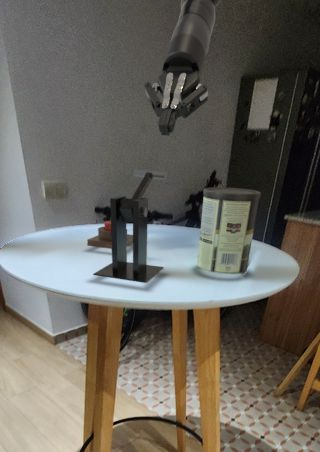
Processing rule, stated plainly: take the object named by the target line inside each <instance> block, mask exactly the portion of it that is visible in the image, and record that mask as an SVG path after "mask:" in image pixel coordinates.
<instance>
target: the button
mask: <svg viewBox="0 0 320 452" xmlns="http://www.w3.org/2000/svg"><path fill="white" fill-rule="evenodd" d="M104 226H105V230H108V231H111V220H106V221H104Z"/></svg>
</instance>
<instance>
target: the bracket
mask: <svg viewBox="0 0 320 452" xmlns="http://www.w3.org/2000/svg"><path fill="white" fill-rule="evenodd" d="M125 198H127V196H126V195H118V196H113V197H110V198H109V199H110V200H109V202H110V203H109V204H110V205H109V206H110V221H111V239H112V249H111V263H109V264H107V265H106V266H104V267H102V268H101V269H99V270H96V272H94V273H92V275H93V276H97V277H98V276H99V277H103V278H110V279H116V280H123V281H130V282H137V283H141V284H142V283H143V284H147V283H148V282H149V281H150V280H151V279H152V278H154V277H155V276H157V274H159V273H160V272H161V271H162V270H163V269H164V266H158V265H152V264H148V263H147V262H148V261H147V260H148V218H149V217H148V216H149V215H148V213H149V211H148V210H149V198H148V197H142V198H140V199H137V200H133V223H132V235H133V243H132V262H131V261H128V257H127V256H128V255H127V254H128V253H127V251H128V250H127V247H128V246H127V238H126V229H127V222H123V221H122V219H121V214H120V209H119V208H120V206H121V204H122V203H123V201H124V199H125Z"/></svg>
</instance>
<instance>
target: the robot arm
mask: <svg viewBox="0 0 320 452" xmlns="http://www.w3.org/2000/svg"><path fill="white" fill-rule="evenodd" d="M221 2H222V0H180V13H179V17H178V20H177V22H176V26H175V27H174V30H173V31H172V35H171V38H170V41H169V45H168V48H167V52H166V54H165V57H164V61H163V65H162V70H161V73H160V74H159V75H158V77H157V78H156V79H157V80H156V82H154V83H153V84H152V83H151V82H149V81H146V82H145V83H144V89H145V95H146V98H147V101H148V103H149V104H150V106H151V109H152V110H153V112H154V113H155V115H156V117H157V118H158V121H157V124H158V125H157V126H158V130H159V133H160V134H161V136H167V137H169V136H171V133H173V132H174V131H175V127H176V123H177V121H178V120H179V118H181V117H182V118H183V119H187V118H188V117H189V116H191V115H192V114H193V113H194V112H195V111H197V110H198V109H199V108H200V107H202V106H203V105H204V104H206V102H208V100H209V89H208V84H207V83H201V79H202V75H203V73H204V69H205V64H206V62H207V60H208V55H209V51H210V43H211V39H212V36H213V33H214V29H215V24H216V8H217V7H218V5H220V3H221ZM159 93H160V95H161V97H162V102H161V99H160V98H159Z"/></svg>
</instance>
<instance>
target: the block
mask: <svg viewBox="0 0 320 452" xmlns="http://www.w3.org/2000/svg"><path fill="white" fill-rule="evenodd" d="M126 238H127V247H128V246H130V245H133V234H129V233H128V229H127V228H126ZM86 243H87V246H89V247H96V248H104V249H110V250H112V239H111V231H108V230H105V225H104V226H100V227H98V228H97V235H95V236H92V237H90V238H88V239H87V240H86Z"/></svg>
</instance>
